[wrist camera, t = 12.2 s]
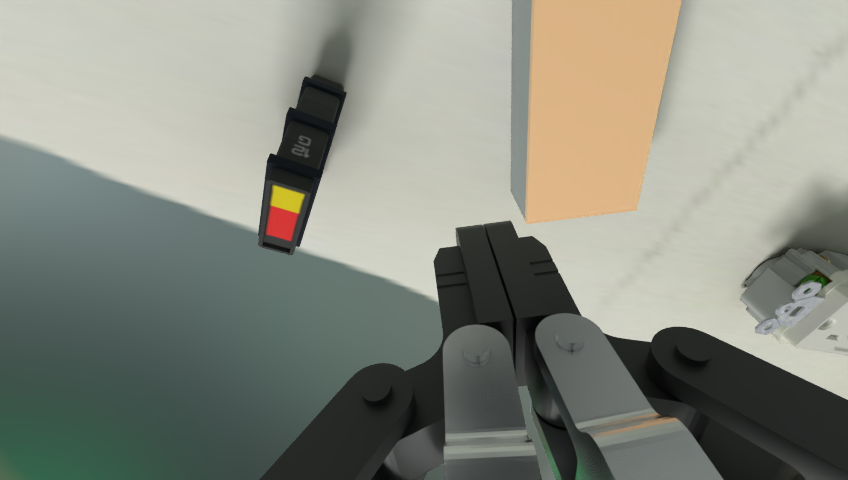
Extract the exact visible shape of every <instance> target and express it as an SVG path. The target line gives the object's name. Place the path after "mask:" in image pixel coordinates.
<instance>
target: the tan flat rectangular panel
mask: <svg viewBox="0 0 848 480" xmlns="http://www.w3.org/2000/svg"><path fill="white" fill-rule="evenodd" d="M681 2H682V0H532V7H531V39H530V70H529V102H528V134H527V166H526V198H525V221H526V223H527V224H531V223H539V222H547V221H555V220H563V219H571V218H579V217H587V216H595V215H603V214H611V213H619V212H627V211H635V210H637V206H638V202H639V197H640V192H641V188H642V183H643V178H644V174H645V169H646V164H647V160H648V155H649V151H650V146H651V141H652V137H653V132H654V127H655V123H656V118H657V113H658V109H659V104H660V99H661V95H662V90H663V85H664V81H665V76H666V72H667V67H668V62H669V58H670V53H671V48H672V44H673V39H674V34H675V30H676V25H677V20H678V16H679V11H680V7H681Z"/></svg>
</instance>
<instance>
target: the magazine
mask: <svg viewBox="0 0 848 480" xmlns="http://www.w3.org/2000/svg"><path fill="white" fill-rule="evenodd" d="M343 90H344V88H343V86H342V85H340V84H338V83H335V82H332V81H330V80H327V79H325V78H322V77H320V76H317V75H313V76H312V77H311V78H309V77H305V78H304V80H303V83H302V87H301V91H300V95H299V100H298V104H297V107H296V109H294V108H291V107H290V108H289V110H288V112H287V115H286V120H285V126H284V132H283V137H282V142H281V145H280V147H279V150H278V152H277V155H274V154H270V155H269V158H268V160H267V166H266V175H265V183H264V191H263V200H262V208H261V216H260V225H259V233H258V235H259V243H258V245H259V246H260V247H262V248H266V249H270V250H274V251H278V252H281V253H285V254H288V255H293V253H294V250H295V247H296V246H297V247H299V246H300V244H301V240H302V237H303V234H304V231H305V228H306V225H307V221H308V218H309V215H310V212H311V209H312V205H313V202H314V199H315V196H316V193H317V190H318V186H319V183H320V180H321V177H322V174H323V169H324V166H325V162H326V159H327V156H328V153H329V150H330V146H331V143H332V140H333V137H334V134H335V130H336V127H337V123H338V119H339V116H340V113H341V110H342V107H343V103H344V100H345V97H346V92H344V91H343Z"/></svg>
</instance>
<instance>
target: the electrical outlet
mask: <svg viewBox="0 0 848 480" xmlns="http://www.w3.org/2000/svg"><path fill="white" fill-rule="evenodd" d="M745 284H746V285H747V286H748V287H749V288H748V289H747V290H746V291H745V292H744V293H743V294H742V295H741V298H740V300H741V301H742V302H743V303H744V304H745V305H746V306H747V308H746V310H747V311H748V312H749V313H750V314H751V315H752V316H753V317H754V318H755V319H756V320H757V321H758V322H759V324H758V325H757V326H756V327H755V332H756V333H758V334H764V335H767V334H769V333H770V334H771V335H772V336H773V337H774V338H775V339H776V340H777V341H778V342H779V343H780V344H782V343H789V344H792V345H793V346H794V347H795V348H797V349H804V350H811V351H818V352H826V353H833V354H840V355H847V356H848V255H844V254H840V253H836V252H832V251H828V250H825V251H823V252H821V253H819V254H816V253H814V252H813V251H810V250H804V249H802V248H799V249H797V250H794V249H793V248H792V249H789V250H788V251H787V252H786V253H785V255H782V256H780V257H777V258H774V259H771V260H768V261H766V262H765V263H763V264H762V265H760V266H759V267H758V268H757V269H756V270H755V271H754V273H753V274H752V276H751V277H750V278H749V279H748V280H747V281H746V282H745ZM764 328H765V329H764Z"/></svg>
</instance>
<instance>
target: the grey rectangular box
mask: <svg viewBox="0 0 848 480" xmlns="http://www.w3.org/2000/svg"><path fill="white" fill-rule="evenodd" d="M531 7H532V0H512V101H511V192H512V194H513V196H514V199H515V201H516V203H517V205H518V207H519V209H520V211H521V213H522V215H523V217H524V219H525V198H526V166H527V134H528V102H529V70H530V39H531Z"/></svg>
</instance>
